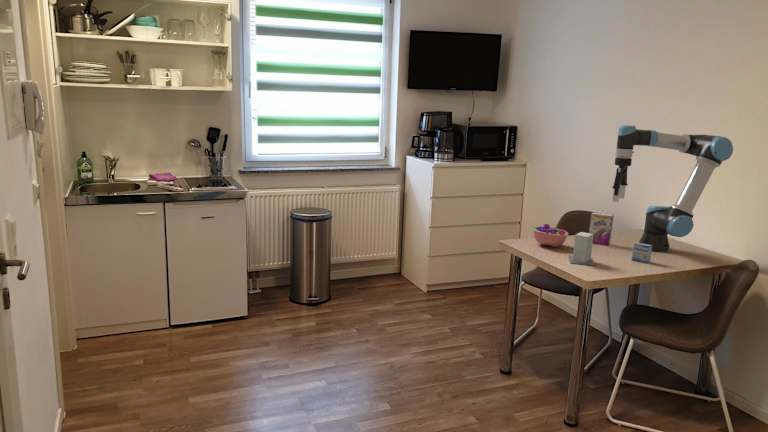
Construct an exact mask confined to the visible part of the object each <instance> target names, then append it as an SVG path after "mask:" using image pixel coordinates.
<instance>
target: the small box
mask: <svg viewBox="0 0 768 432" xmlns="http://www.w3.org/2000/svg"><path fill="white" fill-rule="evenodd" d="M593 235H594V234H591V233H589V232H584V231H580V232H578V233H576V234H575V235H574V244H573V255H572V256H573V261H578V262H583V263H586V262H587V261H589V260H591V258H592V251H593V250H592V249H593V244H594V243H593Z"/></svg>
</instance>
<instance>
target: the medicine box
mask: <svg viewBox="0 0 768 432" xmlns="http://www.w3.org/2000/svg"><path fill="white" fill-rule="evenodd" d="M652 246H653V245H648V244H643V243H639V242H637V241H636V242H634V243H633V246H632V253H631V261H633V262H638V263H639V262H640V263H643V264H649V263H650V262H651V258H652V252H653V251H652Z"/></svg>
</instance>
